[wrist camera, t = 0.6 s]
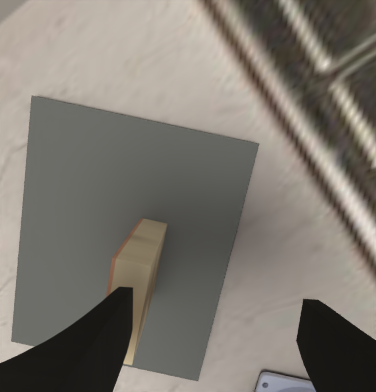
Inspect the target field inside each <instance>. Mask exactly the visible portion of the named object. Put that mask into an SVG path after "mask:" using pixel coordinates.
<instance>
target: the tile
mask: <svg viewBox="0 0 376 392" xmlns="http://www.w3.org/2000/svg"><path fill="white" fill-rule="evenodd" d="M166 228H167V223H162V222H158V221H153V220H148V219H144V218H141V219H140V220H139V221H138V223H137V224H136V226H135V227H134V228H133V230H132V231H131V233H130V234H129V235H128V237H127V238H126V239H125V241H124V242H123V244H122V245H121V246H120V248H119V249H118V250H117V252H116V253H115V255H114V256H113V257H112V262H111V268H110V274H109V281H108V287H107V293H106V297H107V296H108V295H109V294H111V293H112V292H113V291H114V290H115V289H117V288H118V287H119V286H120V287H133V330H132V335H131V339H130V343H129V347H128V351H127V354H126V357H125V360H124V362H123V364H128V365H132V364H133V360H134V357H135V354H136V350H137V347H138V344H139V340H140V337H141V334H142V330H143V327H144V324H145V320H146V317H147V314H148V310H149V307H150V304H151V300H152V297H153V293H154V288H155V283H156V278H157V273H158V268H159V263H160V258H161V253H162V248H163V243H164V238H165V233H166Z"/></svg>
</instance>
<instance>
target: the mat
mask: <svg viewBox="0 0 376 392" xmlns="http://www.w3.org/2000/svg"><path fill="white" fill-rule="evenodd" d="M258 146H259V144H257V143H253V142H248V141H243V140H239V139H234V138H229V137H224V136H220V135H215V134H210V133H206V132H201V131H196V130H191V129H187V128H182V127H177V126H173V125H168V124H163V123H159V122H154V121H149V120H144V119H140V118H135V117H130V116H126V115H121V114H116V113H111V112H107V111H102V110H97V109H93V108H88V107H83V106H78V105H74V104H69V103H64V102H60V101H55V100H50V99H46V98H41V97H36V96H32V98H31V110H30V122H29V134H28V146H27V158H26V170H25V182H24V194H23V206H22V218H21V230H20V242H19V254H18V266H17V279H16V291H15V303H14V315H13V327H12V339H11V341H12V342H16V343H21V344H26V345H30V346H37V345H39V344H41V343H43V342H45V341H46V340H48V339H50V338H52V337H53V336H55V335H56V334H58V333H60V332H61V331H63V330H64V329H66V328H67V327H69V326H70V325H72V324H73V323H75V322H76V321H77V320H79V319H80V318H81V317H83V316H84V315H85V314H87V313H88V312H89V311H90V310H92V309H93V308H94V307H95V306H97V305H98V304H99V303H100V302H101V301H103V300H104V299H105V298H106V293H107V287H108V281H109V274H110V268H111V262H112V257H113V256H114V255H115V253H116V252H117V250H118V249H119V248H120V246H121V245H122V244H123V242H124V241H125V239H126V238H127V237H128V235H129V234H130V233H131V231H132V230H133V228H134V227H135V226H136V224H137V223H138V221H139V220H140V219H141V218H144V219H148V220H153V221H158V222H162V223H167V228H166V233H165V238H164V243H163V248H162V253H161V258H160V263H159V268H158V273H157V278H156V283H155V288H154V293H153V297H152V300H151V304H150V307H149V310H148V314H147V317H146V320H145V324H144V327H143V330H142V334H141V337H140V340H139V344H138V347H137V350H136V354H135V357H134V360H133V364H132V365H128V364H123V365H124V366H129V367H133V368H138V369H143V370H147V371H152V372H157V373H161V374H166V375H171V376H176V377H180V378H185V379H190V380H194V381H198V379H199V375H200V371H201V367H202V363H203V360H204V356H205V352H206V348H207V344H208V340H209V336H210V332H211V329H212V325H213V321H214V317H215V313H216V309H217V305H218V301H219V298H220V294H221V290H222V286H223V282H224V278H225V274H226V270H227V266H228V263H229V259H230V255H231V251H232V247H233V243H234V239H235V235H236V232H237V228H238V224H239V220H240V216H241V212H242V208H243V204H244V201H245V197H246V193H247V189H248V185H249V181H250V177H251V173H252V169H253V166H254V162H255V158H256V154H257V150H258Z"/></svg>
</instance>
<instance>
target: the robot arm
mask: <svg viewBox="0 0 376 392" xmlns="http://www.w3.org/2000/svg"><path fill="white" fill-rule="evenodd" d="M132 330H133V287H120V286H119V287H118V288H117V289H115V290H114V291H113V292H112V293H111V294H109V295H108V296H107V297H106V298H105V299H104V300H103V301H101V302H100V303H99V304H98V305H97V306H95V307H94V308H93V309H92V310H90V311H89V312H88V313H87V314H85V315H84V316H83V317H81V318H80V319H79V320H77V321H76V322H75V323H73V324H72V325H70V326H69V327H67V328H66V329H64V330H63V331H61V332H60V333H58V334H56V335H55V336H53V337H52V338H50V339H48V340H46V341H45V342H43V343H41V344H39V345H37V346H35V347H33V348H31V349H29V350H27V351H26V352H24V353H22V354H20V355H18V356H15V357H13V358H11V359H9V360H7V361H4V362H2V363H0V392H113V389H114V386H115V384H116V381H117V378H118V376H119V373H120V370H121V368H122V365H123V362H124V360H125V357H126V354H127V351H128V347H129V343H130V339H131V335H132ZM296 341H297V344H298V348H299V351H300V354H301V357H302V360H303V363H304V366H305V368H306V371H307V373H308V375H309V377H310V380H311V381H308V380H303V379H298V378H294V377H289V376H284V375H279V374H275V373H270V372H263V373H262V374H261V375H260V377H259V381H258V384H257V387H256V390H255V392H376V340H375V339H373V338H372V337H370V336H369V335H367V334H366V333H364V332H363V331H361V330H360V329H359V328H357V327H356V326H354V325H353V324H352V323H350V322H349V321H348V320H346V319H345V318H343V317H342V316H341V315H339V314H338V313H337V312H335V311H334V310H332V309H331V308H330V307H328V306H327V305H325V304H324V303H322V302H321V301H319V300H312V299H303V305H302V311H301V316H300V322H299V328H298V334H297V340H296ZM263 383H266V384H263Z"/></svg>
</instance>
